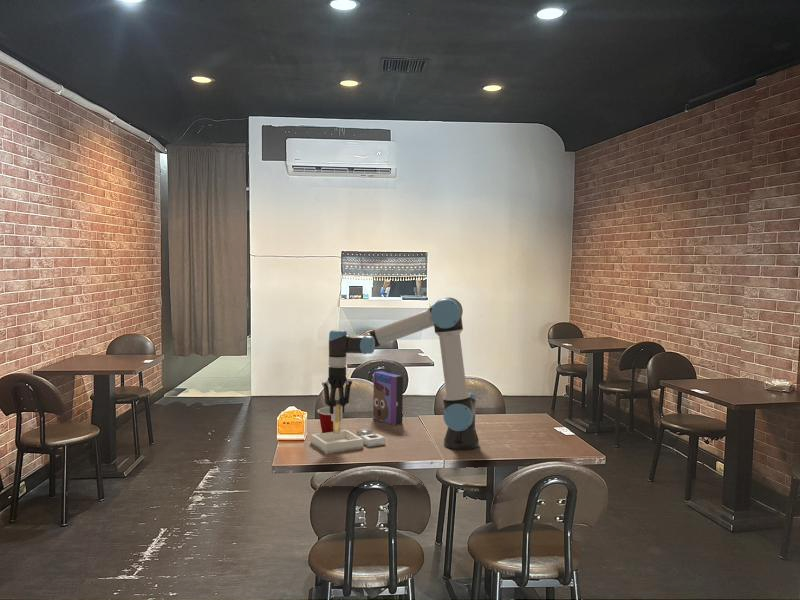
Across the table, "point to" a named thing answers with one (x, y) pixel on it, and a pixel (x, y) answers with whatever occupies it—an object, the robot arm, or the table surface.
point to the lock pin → (337, 417)
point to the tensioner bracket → (370, 437)
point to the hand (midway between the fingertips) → (336, 420)
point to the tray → (336, 441)
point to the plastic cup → (325, 420)
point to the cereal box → (388, 397)
